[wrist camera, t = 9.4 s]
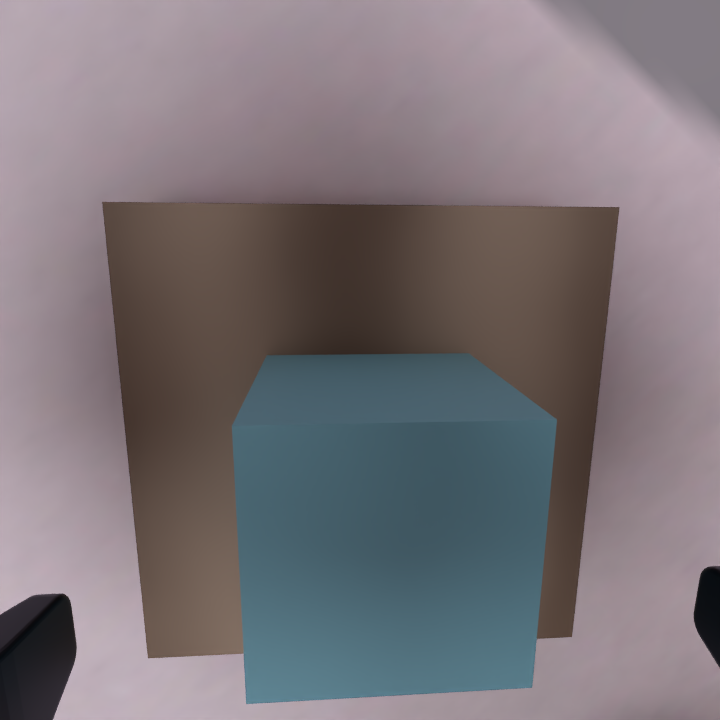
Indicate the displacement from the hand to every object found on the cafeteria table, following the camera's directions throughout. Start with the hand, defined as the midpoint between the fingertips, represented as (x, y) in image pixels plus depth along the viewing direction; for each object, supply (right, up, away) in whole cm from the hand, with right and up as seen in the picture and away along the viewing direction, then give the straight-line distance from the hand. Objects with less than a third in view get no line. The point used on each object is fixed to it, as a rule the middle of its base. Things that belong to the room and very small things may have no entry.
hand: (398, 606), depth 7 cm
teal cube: (0, +1, +6) cm, 6 cm away
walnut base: (-1, +2, +9) cm, 9 cm away
